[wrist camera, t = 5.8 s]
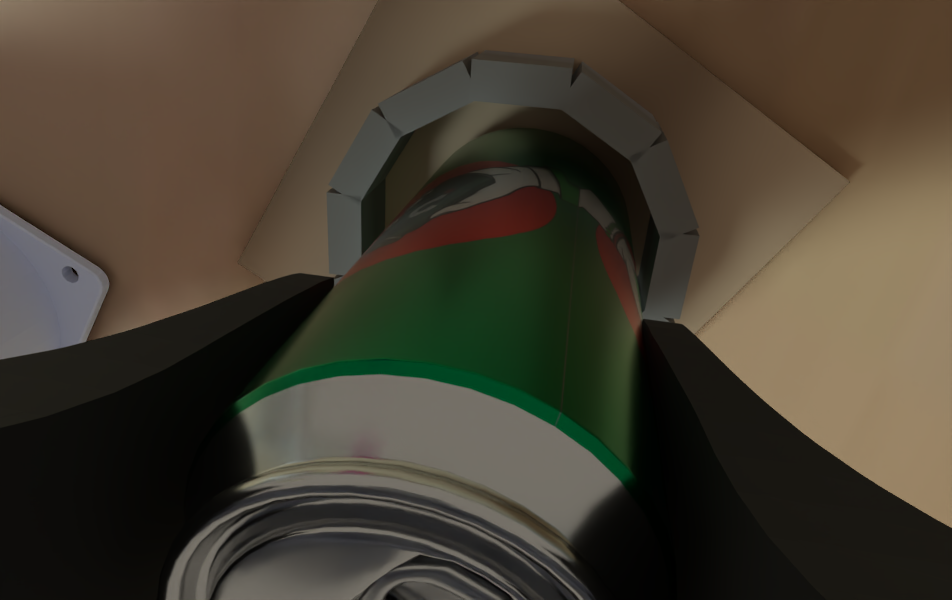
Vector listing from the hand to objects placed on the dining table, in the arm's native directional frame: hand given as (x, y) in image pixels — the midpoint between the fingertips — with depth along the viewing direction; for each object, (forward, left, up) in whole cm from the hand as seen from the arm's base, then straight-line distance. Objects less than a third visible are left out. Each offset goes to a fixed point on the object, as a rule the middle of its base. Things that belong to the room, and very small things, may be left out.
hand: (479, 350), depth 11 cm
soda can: (0, 0, -6) cm, 6 cm away
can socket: (0, 0, -7) cm, 7 cm away
